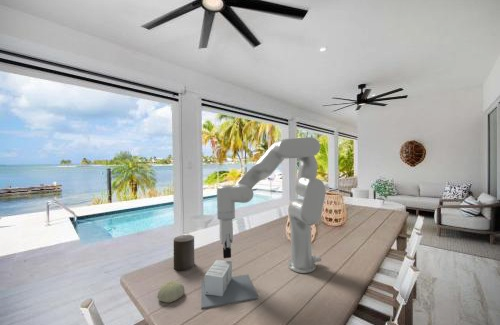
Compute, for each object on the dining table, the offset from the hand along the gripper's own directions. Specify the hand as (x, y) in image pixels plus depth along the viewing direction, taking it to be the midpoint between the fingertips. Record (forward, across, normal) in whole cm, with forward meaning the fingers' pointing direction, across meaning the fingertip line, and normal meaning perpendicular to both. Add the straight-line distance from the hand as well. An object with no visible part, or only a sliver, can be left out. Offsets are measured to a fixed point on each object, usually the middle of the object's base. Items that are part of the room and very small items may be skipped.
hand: (227, 257), depth 89 cm
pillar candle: (+9, -16, -19) cm, 27 cm away
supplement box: (+5, 0, -1) cm, 5 cm away
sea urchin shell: (+10, +7, -22) cm, 25 cm away
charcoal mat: (+9, +8, -1) cm, 12 cm away
